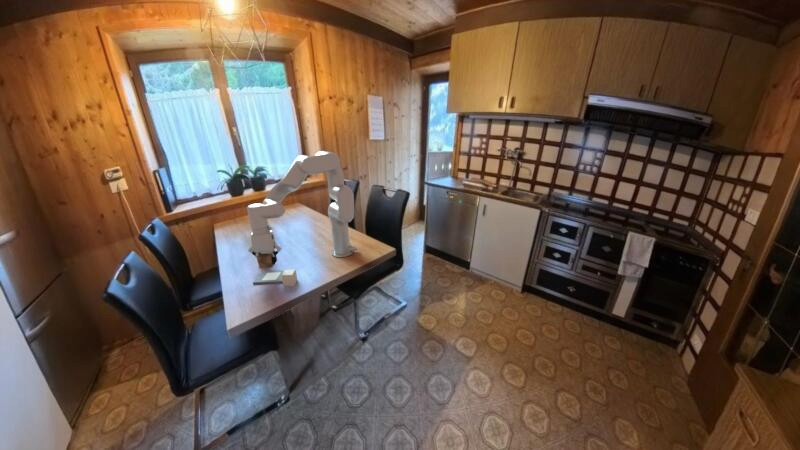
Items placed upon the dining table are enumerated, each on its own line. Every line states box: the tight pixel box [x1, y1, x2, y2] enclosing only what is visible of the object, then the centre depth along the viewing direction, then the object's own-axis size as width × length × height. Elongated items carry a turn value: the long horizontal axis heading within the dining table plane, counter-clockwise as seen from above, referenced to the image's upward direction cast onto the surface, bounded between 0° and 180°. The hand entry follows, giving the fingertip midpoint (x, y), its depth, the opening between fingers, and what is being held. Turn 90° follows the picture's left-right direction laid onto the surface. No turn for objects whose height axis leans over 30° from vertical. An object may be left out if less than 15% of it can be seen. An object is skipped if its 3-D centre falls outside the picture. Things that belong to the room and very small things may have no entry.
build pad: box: [252, 270, 285, 285], centre depth 134 cm, size 14×10×1 cm
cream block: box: [281, 268, 298, 287], centre depth 129 cm, size 5×5×6 cm
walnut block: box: [256, 252, 275, 269], centre depth 130 cm, size 6×6×6 cm
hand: (267, 262), depth 131 cm, fingers closed on walnut block, 6 cm apart
